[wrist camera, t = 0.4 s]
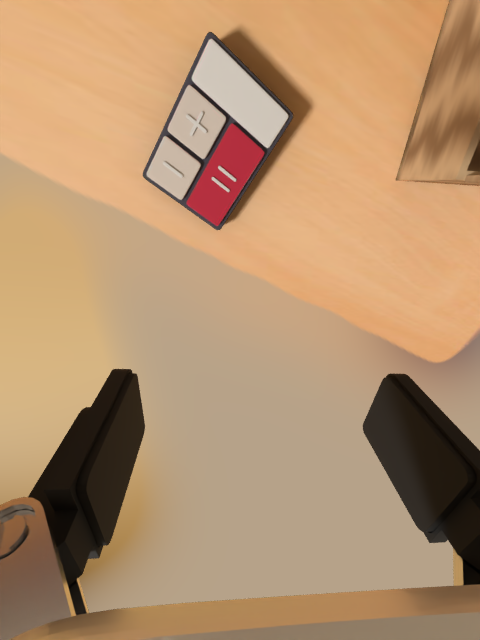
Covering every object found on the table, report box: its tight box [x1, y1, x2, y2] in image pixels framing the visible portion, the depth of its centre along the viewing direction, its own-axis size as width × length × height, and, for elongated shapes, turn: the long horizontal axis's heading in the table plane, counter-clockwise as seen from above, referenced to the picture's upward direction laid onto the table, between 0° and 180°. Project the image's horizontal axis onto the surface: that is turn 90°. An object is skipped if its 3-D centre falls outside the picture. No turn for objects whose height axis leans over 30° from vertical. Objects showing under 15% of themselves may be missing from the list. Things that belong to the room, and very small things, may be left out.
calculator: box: [143, 32, 293, 230], centre depth 30 cm, size 11×4×15 cm
